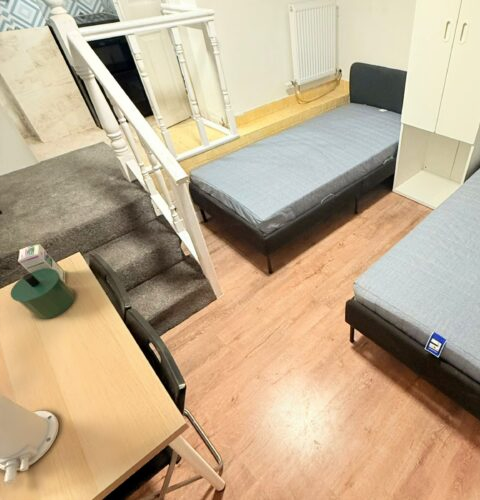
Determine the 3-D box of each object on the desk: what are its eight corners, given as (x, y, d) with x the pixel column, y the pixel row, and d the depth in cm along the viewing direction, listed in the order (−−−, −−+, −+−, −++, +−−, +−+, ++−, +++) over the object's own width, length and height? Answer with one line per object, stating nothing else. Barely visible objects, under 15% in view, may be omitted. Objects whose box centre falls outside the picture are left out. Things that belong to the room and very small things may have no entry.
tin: (79, 303, 107) (62, 285, 100) (38, 325, 102) (17, 307, 95) (69, 283, 113) (52, 265, 107) (30, 303, 108) (10, 284, 101)
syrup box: (65, 283, 114) (39, 253, 103) (46, 290, 112) (16, 260, 101) (65, 272, 117) (39, 242, 107) (46, 279, 115) (18, 249, 105)
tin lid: (65, 286, 101) (56, 276, 98) (17, 310, 95) (6, 301, 92) (54, 264, 108) (46, 254, 104) (9, 286, 102) (-2, 276, 98)
